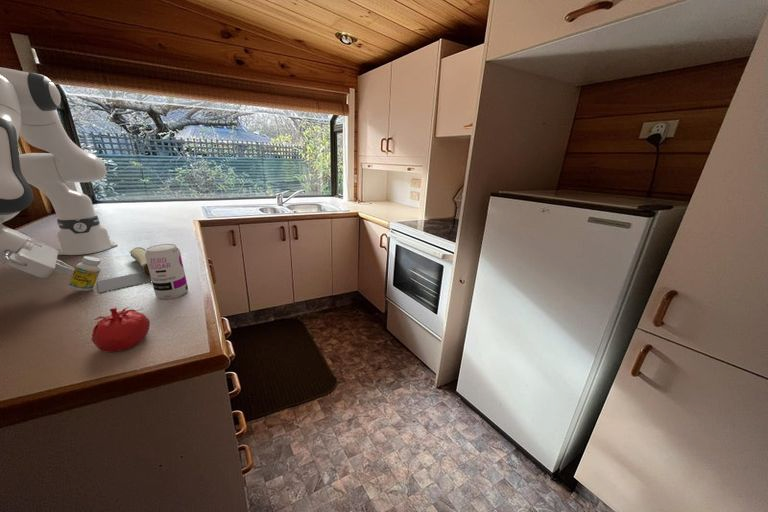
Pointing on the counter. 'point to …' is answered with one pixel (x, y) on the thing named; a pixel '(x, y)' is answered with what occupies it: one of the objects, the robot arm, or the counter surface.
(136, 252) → the rolling pin
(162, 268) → the supplement can
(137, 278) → the mat
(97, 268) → the supplement bottle
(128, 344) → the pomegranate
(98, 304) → the counter surface
